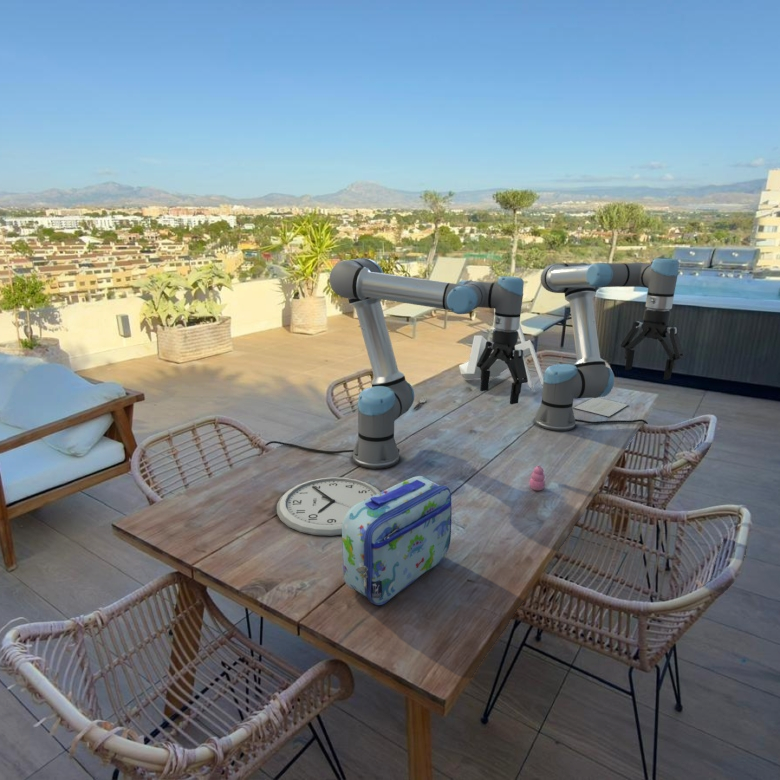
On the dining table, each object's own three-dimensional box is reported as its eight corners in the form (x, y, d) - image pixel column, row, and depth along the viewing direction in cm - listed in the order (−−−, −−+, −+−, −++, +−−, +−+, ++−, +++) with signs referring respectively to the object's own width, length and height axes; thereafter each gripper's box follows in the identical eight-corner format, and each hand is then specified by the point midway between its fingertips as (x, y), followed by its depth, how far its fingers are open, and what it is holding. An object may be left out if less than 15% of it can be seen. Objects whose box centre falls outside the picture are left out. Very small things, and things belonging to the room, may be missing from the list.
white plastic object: (480, 422, 262) (459, 399, 237) (462, 348, 284) (440, 320, 259) (552, 397, 249) (538, 371, 225) (527, 322, 271) (511, 291, 247)
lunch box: (371, 618, 102) (371, 524, 95) (336, 591, 109) (334, 502, 103) (455, 562, 119) (460, 479, 113) (420, 542, 126) (423, 463, 120)
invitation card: (608, 416, 214) (573, 407, 224) (608, 416, 214) (573, 408, 224) (628, 404, 229) (594, 396, 238) (628, 405, 229) (594, 397, 238)
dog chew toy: (536, 483, 157) (538, 462, 155) (547, 490, 153) (550, 467, 151) (525, 487, 155) (527, 465, 152) (536, 493, 151) (539, 471, 149)
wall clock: (392, 527, 129) (268, 531, 127) (391, 533, 130) (269, 537, 127) (383, 473, 158) (282, 475, 155) (383, 478, 158) (282, 480, 156)
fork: (410, 410, 218) (411, 405, 217) (421, 399, 232) (422, 394, 231) (416, 411, 217) (417, 406, 216) (427, 399, 231) (427, 395, 230)
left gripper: (469, 322, 165) (464, 387, 171) (526, 339, 144) (517, 411, 151) (487, 321, 168) (481, 384, 175) (546, 337, 148) (536, 407, 155)
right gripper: (615, 304, 173) (606, 366, 179) (690, 315, 153) (677, 385, 159) (629, 303, 177) (620, 364, 183) (704, 314, 157) (691, 381, 163)
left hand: (498, 396), depth 163 cm, fingers open, 13 cm apart
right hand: (646, 374), depth 171 cm, fingers open, 13 cm apart
